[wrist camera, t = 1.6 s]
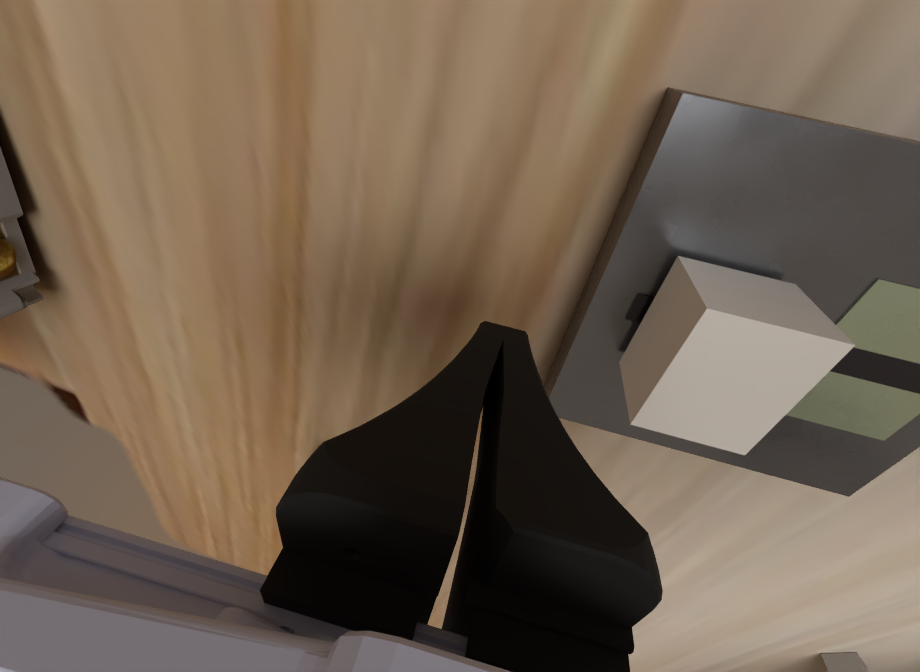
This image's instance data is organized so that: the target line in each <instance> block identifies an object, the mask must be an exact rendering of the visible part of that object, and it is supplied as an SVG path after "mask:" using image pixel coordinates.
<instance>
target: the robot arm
mask: <svg viewBox="0 0 920 672" xmlns="http://www.w3.org/2000/svg"><path fill="white" fill-rule="evenodd" d="M483 405H484V406H483ZM482 408H483V415H482V423H481V432H480V441H479V450H478V459H477V468H476V474H475V481H474V486H473V491H472V495H471V500H470V505H469V510H468V514H467V519H466V523H465V528H464V533H463V537H462V542H461V546H460V551H459V555H458V560H457V564H456V569H455V573H454V578H453V582H452V587H451V591H450V596H449V600H448V604H447V609H446V613H445V618H444V622H443V626H442V629H439V628H436V627H433V626H429V625H427V624H428V621H429V618H430V615H431V612H432V609H433V606H434V603H435V600H436V597H437V596H438V594H439V591H440V588H441V585H442V582H443V579H444V577H445V574H446V571H447V568H448V565H449V562H450V559H451V556H452V553H453V550H454V547H455V545H456V542H457V539H458V535H459V531H460V527H461V522H462V517H463V512H464V507H465V502H466V495H467V488H468V482H469V476H470V470H471V464H472V458H473V452H474V446H475V441H476V435H477V430H478V424H479V419H480V414H481V411H482ZM276 518H277V522H278V527H279V531H280V536H281V540H282V545H283V549H282V551H281V552H280V554H279V556H278V558H277V560H276V561H275V563H274V565H273V567H272V569H271V571H270V572H269V574H268V576H266V575H263V574H260V573H256V572H253V571H250V570H247V569H243V568H240V567H237V566H234V565H230V564H227V563H224V562H221V561H217V560H214V559H211V558H207V557H204V556H201V555H198V554H194V553H191V552H188V551H185V550H181V549H178V548H175V547H172V546H168V545H165V544H162V543H159V542H155V541H152V540H148V539H145V538H142V537H139V536H136V535H132V534H129V533H126V532H123V531H119V530H116V529H113V528H110V527H106V526H103V525H100V524H96V523H93V522H90V521H87V520H83V519H80V518H77V517H74V516H70V515H68V511H67V509H66V508H65V506H64V505H63V504H62V503H61V502H60V501H59V500H58V499H57V498H56V497H54V496H53V495H51V494H49V493H47V492H45V491H43V490H40V489H38V488H34V487H31V486H28V485H24V484H21V483H18V482H15V481H11V480H8V479H5V478H1V477H0V672H630V666H629V657H628V654H631V653H633V651H634V641H633V633H632V626H634V625H635V624H636V623H638V622H639V621H640V620H641V619H643V618H644V617H645V616H646V615H648V614H649V613H650V612H651V611H653V610H654V608H655V607H656V606H657V605H658V604H659V602H660V601H661V599H662V585H661V580H660V575H659V570H658V566H657V562H656V558H655V554H654V551H653V548H652V545H651V542H650V538H649V535H648V532H647V531H646V530H645V529H644V528H643V527H642V526H641V525H640V524H639V523H638V522H637V521H636V520H635V519H634V518H633V517H632V515H631V514H630V513H629V512H628V511H627V510H626V509H625V508H624V507H623V506H622V505H621V504H620V503H619V502H618V501H617V500H616V498H615V497H614V496H613V495H612V494H611V493H610V491H609V490H608V489H607V488H606V487H605V485H604V484H603V483H602V482H601V480H600V479H599V478H598V477H597V476H596V474H595V473H594V472H593V470H592V469H591V468H590V466H589V465H588V463H587V462H586V461H585V459H584V458H583V456H582V455H581V454H580V452H579V451H578V449H577V448H576V447H575V445H574V443H573V442H572V440H571V439H570V437H569V435H568V434H567V432H566V430H565V429H564V427H563V425H562V423H561V422H560V420H559V418H558V416H557V414H556V412H555V410H554V408H553V406H552V404H551V402H550V400H549V398H548V396H547V393H546V391H545V389H544V386H543V384H542V381H541V379H540V376H539V373H538V371H537V368H536V365H535V362H534V359H533V355H532V352H531V348H530V344H529V340H528V335H527V334H526V332H525V331H522V330H518V329H514V328H510V327H506V326H502V325H498V324H494V323H490V322H487V321H484V322H482V323H480V326H479V328H478V329H477V331H476V333H475V334H474V336H473V337H472V338H471V340H470V341H469V342H468V344H467V345H466V346H465V347H464V348H463V349H462V350H461V352H460V353H459V354H458V355H457V356H456V357H455V358H454V359H453V360H452V361H451V362H450V363H449V364H448V365H447V366H446V367H445V368H444V369H443V370H442V371H441V372H440V373H439V374H438V375H437V376H435V377H434V378H433V379H432V380H431V381H430V382H428V383H427V384H426V385H425V386H423V387H422V388H421V389H419V390H418V391H417V392H416V393H414V394H413V395H411V396H410V397H408V398H407V399H405V400H404V401H403V402H401V403H400V404H398V405H396V406H395V407H393V408H392V409H390V410H388V411H386V412H385V413H383V414H381V415H379V416H377V417H376V418H374V419H372V420H370V421H368V422H367V423H365V424H363V425H361V426H359V427H357V428H355V429H352V430H350V431H348V432H346V433H343V434H341V435H339V436H337V437H334V438H332V439H330V440H327V441H325V442H323V443H322V444H321V445H320V446H319V447H318V448H317V449H316V451H315V452H314V453H313V454H312V455H311V456H310V457H309V459H308V460H307V461H306V462H305V464H304V465H303V466H302V467H301V469H300V470H299V471H298V473H297V474H296V475H295V477H294V478H293V480H292V482H291V483H290V485H289V487H288V488H287V490H286V492H285V493H284V495H283V497H282V498H281V500H280V502H279V503H278V505H277V507H276Z"/></svg>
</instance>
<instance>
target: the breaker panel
mask: <svg viewBox="0 0 920 672" xmlns="http://www.w3.org/2000/svg"><path fill="white" fill-rule="evenodd" d="M678 256H681V257H685V258H689V259H693V260H698V261H702V262H706V263H710V264H714V265H718V266H722V267H727V268H731V269H735V270H739V271H743V272H747V273H751V274H756V275H760V276H764V277H768V278H772V279H776V280H780V281H785V282H789V283H793V284H796V285H797V286H798V287H799V288H800V289H801V290H802V291H803V292H804V293H805V294H806V295H807V296H808V297H809V298H810V299H811V300H812V301H813V303H814V304H815V305H816V306H817V307H818V308H819V309H820V310H821V311H822V312H823V313H824V314H825V315H826V316H827V317H828V318H829V319H830V320H831V321H832V322H833V323H834V324H835V325H836V326H837V327H838V328H839V329H840V330H841V331H842V332H843V333H844V334H845V335H846V336H847V337H848V338H849V339H850V340H851V341H852V342H853V343H854V344H855V346H854V347H853V348H852V349H851V350H850V351H849V352H848V353H847V354H846V355H845V356H844V357H843V358H842V359H841V360H840V361H839V362H838V363H837V364H836V365H835V366H834V367H833V368H832V369H831V370H830V371H829V372H828V373H827V374H826V375H825V376H824V377H823V378H822V379H821V380H820V381H819V382H818V383H817V384H816V385H815V386H814V387H813V388H812V389H811V390H810V391H809V392H808V393H807V394H806V395H805V396H804V397H803V398H802V399H801V400H800V401H799V402H798V403H797V404H796V405H795V406H794V407H793V408H792V409H791V410H790V411H789V412H788V413H787V414H786V415H785V416H784V417H783V418H782V419H781V420H780V421H779V422H778V423H777V424H776V425H775V426H774V427H773V428H772V429H771V430H770V431H769V432H768V433H767V434H766V435H765V436H764V437H763V438H762V439H761V440H760V441H759V442H758V443H757V444H756V445H755V446H754V447H753V448H752V449H751V450H750V451H749V452H748V453H747V454H746V455H741V454H738V453H734V452H730V451H727V450H723V449H719V448H715V447H712V446H708V445H704V444H701V443H697V442H693V441H690V440H686V439H682V438H678V437H675V436H671V435H667V434H664V433H660V432H656V431H652V430H649V429H645V428H641V427H638V426H634V425H630V420H629V414H628V409H627V403H626V398H625V392H624V387H623V381H622V375H621V370H620V364H619V362H620V360H621V358H622V356H623V354H624V353H625V351H626V349H627V347H628V345H629V343H630V342H631V340H632V338H633V336H634V334H635V333H636V331H637V329H638V327H639V325H640V324H641V322H642V320H643V318H644V316H645V314H646V313H647V311H648V309H649V307H650V305H651V304H652V302H653V300H654V298H655V296H656V295H657V293H658V291H659V289H660V287H661V286H662V284H663V282H664V280H665V278H666V276H667V275H668V273H669V271H670V269H671V267H672V266H673V264H674V262H675V260H676V258H677V257H678ZM544 389H545V391H546V393H547V396H548V398H549V400H550V402H551V404H552V406H553V408H554V410H555V412H556V414H557V416H558V418H562V419H566V420H569V421H573V422H577V423H580V424H584V425H588V426H591V427H595V428H599V429H602V430H606V431H610V432H613V433H617V434H621V435H624V436H628V437H632V438H636V439H639V440H643V441H647V442H650V443H654V444H658V445H661V446H665V447H669V448H672V449H676V450H680V451H683V452H687V453H691V454H694V455H698V456H702V457H705V458H709V459H713V460H716V461H720V462H724V463H727V464H731V465H735V466H739V467H742V468H746V469H750V470H753V471H757V472H761V473H764V474H768V475H772V476H775V477H779V478H783V479H786V480H790V481H794V482H797V483H801V484H805V485H808V486H812V487H816V488H819V489H823V490H827V491H830V492H834V493H838V494H842V495H845V496H850V495H852V494H853V493H855V492H856V491H857V490H859V489H860V488H862V487H863V486H865V485H866V484H867V483H869V482H870V481H872V480H873V479H874V478H876V477H877V476H879V475H880V474H882V473H883V472H884V471H886V470H887V469H889V468H890V467H891V466H893V465H894V464H896V463H897V462H899V461H900V460H901V459H903V458H904V457H906V456H907V455H908V454H910V453H911V452H913V451H914V450H916V449H917V448H918V447H920V142H919V141H914V140H909V139H905V138H900V137H896V136H891V135H886V134H882V133H877V132H872V131H868V130H863V129H859V128H854V127H849V126H845V125H840V124H835V123H831V122H826V121H821V120H817V119H812V118H808V117H803V116H798V115H794V114H789V113H784V112H780V111H775V110H771V109H766V108H761V107H757V106H752V105H747V104H743V103H738V102H733V101H729V100H724V99H720V98H715V97H710V96H706V95H701V94H696V93H692V92H687V91H682V90H678V89H673V88H669V87H668V89H667V92H666V94H665V97H664V99H663V101H662V104H661V106H660V109H659V111H658V113H657V116H656V118H655V121H654V123H653V125H652V128H651V130H650V133H649V135H648V137H647V140H646V142H645V145H644V147H643V149H642V152H641V154H640V157H639V159H638V161H637V164H636V166H635V169H634V171H633V173H632V176H631V178H630V181H629V183H628V185H627V188H626V190H625V192H624V195H623V197H622V200H621V202H620V204H619V207H618V209H617V212H616V214H615V216H614V219H613V221H612V224H611V226H610V228H609V231H608V233H607V236H606V238H605V240H604V243H603V245H602V248H601V250H600V252H599V255H598V257H597V260H596V262H595V264H594V267H593V269H592V272H591V274H590V276H589V279H588V281H587V284H586V286H585V288H584V291H583V293H582V296H581V298H580V300H579V303H578V305H577V307H576V310H575V312H574V315H573V317H572V319H571V322H570V324H569V327H568V329H567V331H566V334H565V336H564V339H563V341H562V343H561V346H560V348H559V351H558V353H557V355H556V358H555V360H554V363H553V365H552V367H551V370H550V372H549V375H548V377H547V379H546V382H545V384H544Z"/></svg>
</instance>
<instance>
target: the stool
mask: <svg viewBox="0 0 920 672" xmlns="http://www.w3.org/2000/svg"><path fill="white" fill-rule="evenodd" d="M821 656H822V658H823V660H824V663H825V665H826V668H827V670H828V672H868V669H867V667H866V665H865V664H864V662H863V661H862V660H861V658H860V657H859V655H858V654H857V653H823V654H821Z"/></svg>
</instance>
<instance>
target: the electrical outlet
mask: <svg viewBox="0 0 920 672" xmlns="http://www.w3.org/2000/svg"><path fill="white" fill-rule="evenodd" d="M22 215H23V212H22V209H21V206H20V203H19V200H18V197H17V194H16V191H15V188H14V185H13V182H12V179H11V177H10V174H9V171H8V168H7V165H6V162H5V159H4V156H3V153H2V150H1V147H0V319H1V318H3V317H6V316H8V315H10V314H13V313H15V312H18V311H20V310H22V309H23V308H25V307H27V306H28V305H31V304H33V303H35V302H38V301H40V300H43V296H42V295H41V294H40V293H39V292H37V291H36V290H35V288H34V283H37V282H39V281H40V280H39V278H38V277H37V276H36V275H35V273H36V271H35V269H34V266H33V263H32V260H31V257H30V255H29V252H28V249H27V246H26V243H25V240H24V238H23V235H22V232H21V229H20V226H19V224H18V221H17V218H18V217H21V216H22Z"/></svg>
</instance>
